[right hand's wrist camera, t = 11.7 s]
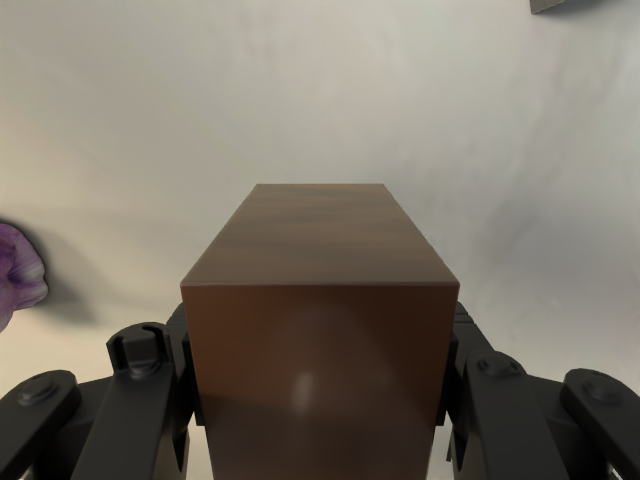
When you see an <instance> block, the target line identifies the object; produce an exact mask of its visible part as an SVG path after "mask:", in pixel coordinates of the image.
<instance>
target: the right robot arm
mask: <svg viewBox="0 0 640 480" xmlns="http://www.w3.org/2000/svg"><path fill="white" fill-rule="evenodd" d="M106 346H107V349H108V353H109V356H110V360H111V363H112V367H113V370H114V374H113V376H110V377H107V378H103V379H98V380H94V381H89V382H85V383H80V384H78V383H77V380H76V378H75V375H74V374H72V373H71V372H70V371H66V370H54V371H47V372H44V373H41V374H38V375H35V376H33V377H31V378H29V379H27V380H25V381H23V382H21V383H20V384H18V385H17V386H16V387H14V388H13V389H12V390H11V391H9V392H8V393H7V394H6V395H5V396H4V397H3V398H2V399H1V400H0V480H20V478H21V477H22V476H23V475H24V473H25V472H26V471H27V470H28V472H29V473H28V474H27V475H26V477H25V478H24V479H23V480H186V472H187V462H188V452H189V443H190V438H189V432H188V427H187V426H188V424H189V421H190V419H191V417H192V414H193V412H194V414H195V419H196V425H197V426H204V420H203V414H202V408H201V403H200V397H199V391H198V385H197V380H196V374H195V368H194V363H193V357H192V351H191V345H190V340H189V334H188V328H187V322H186V317H185V311H184V305H183V302H182V303H181V304H179V306H178V307H177V308H176V310H175V311H174V313H173V314H172V316H171V317H170V318H169V320H168V321H167V324H166V325H164V324H161V323H157V322H144V323H139V324H135V325H131V326H129V327H127V328H124V329H122V330H120V331H119V332H117V333H116V334H114V335H113V336H112V337H111V338H110V339H109V340H108V342H107V343H106ZM446 410H447V412H448V414H449V417H450V419H451V422H452V424H453V427H452V432H451V437H450V442H449V447H448V452H447V458H446V461H449V462H451V458H452V461H453V471H454V480H619V479H618V478H617V477H616V476H615V474H614V473H613V472H612V470H613V468H614V469H615V470H616V472H617V473H618V474H619V475H620V477H621V478H622V479H623V480H640V397H639V396H638V395H637V394H636V393H635V392H633V391H632V390H631V389H630V388H628V387H627V386H626V385H624V384H623V383H622V382H620V381H619V380H617V379H615V378H613V377H611V376H609V375H607V374H604V373H601V372H598V371H595V370H590V369H582V368H579V369H572V370H570V371H569V372H568V373H567V374H566V376H565V378H564V381H563V383H562V382H557V381H553V380H548V379H544V378H539V377H535V376H532V375H528V374H527V373H526V371H525V370H524V369H523V367H522V366H521V364H520V363H518V362H517V361H516V360H515V359H513V358H512V357H510V356H508V355H506V354H504V353H502V352H499V351H495V350H494V349H493V348H492V346H491V345H490V343H489V342H488V341H487V339H486V338H485V336H484V335H483V334H482V332H481V331H480V329H479V328H478V326H477V325H476V324H474V321H473V319H472V318H471V317H470V315H468V312H467V311H466V309H465V308H464V307H463V305H462V304H461V303H460V302H458V301H457V306H456V311H455V317H454V323H453V329H452V335H451V340H450V346H449V352H448V358H447V364H446V370H445V375H444V381H443V387H442V393H441V399H440V404H439V410H438V416H437V422H436V426H444V421H445V415H446Z"/></svg>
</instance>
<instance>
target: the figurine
mask: <svg viewBox="0 0 640 480" xmlns="http://www.w3.org/2000/svg"><path fill="white" fill-rule="evenodd" d="M44 274H45V269H44V264H42V261H41V259H40V257H39V256H38V255H37V252H36V251H35V250H34V249H33V247H32V245H31V244H30V243H29V242H28V241H27V239H26V238H25V237H24V236H23V234H22V233H21V232H20V231H19V230H17V229H15V228H13V227H12V226H11V225H6V224H1V223H0V333H1V332H2V331H3V330H4V329H5V328H6V326H7V325H8V323H9V321H10V319H11V318H12V315H13V312H14V311H17V310H21V309H25V308H29V307H32V306H33V305H34V304H35V303H37V302H39V301H41V299H43V298H44V297H45V296H46V295H47V293H48V287H47V285H46V282H45V281H44V279H43V275H44Z"/></svg>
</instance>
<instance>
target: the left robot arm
mask: <svg viewBox="0 0 640 480" xmlns="http://www.w3.org/2000/svg"><path fill="white" fill-rule="evenodd" d="M28 473H29V472H28V470H27V471H26V472H25V473H24V475H23V476H22V477H21V478H20V480H23V479H24V478H25V477H26V475H27V474H28Z"/></svg>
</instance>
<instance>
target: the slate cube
mask: <svg viewBox="0 0 640 480" xmlns="http://www.w3.org/2000/svg"><path fill="white" fill-rule="evenodd" d="M565 1H568V0H530V5H531V13H532V14H535V13H537V12H540V11H542V10H545V9H547V8H550V7H552V6H555V5H558V4H560V3H563V2H565Z"/></svg>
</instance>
